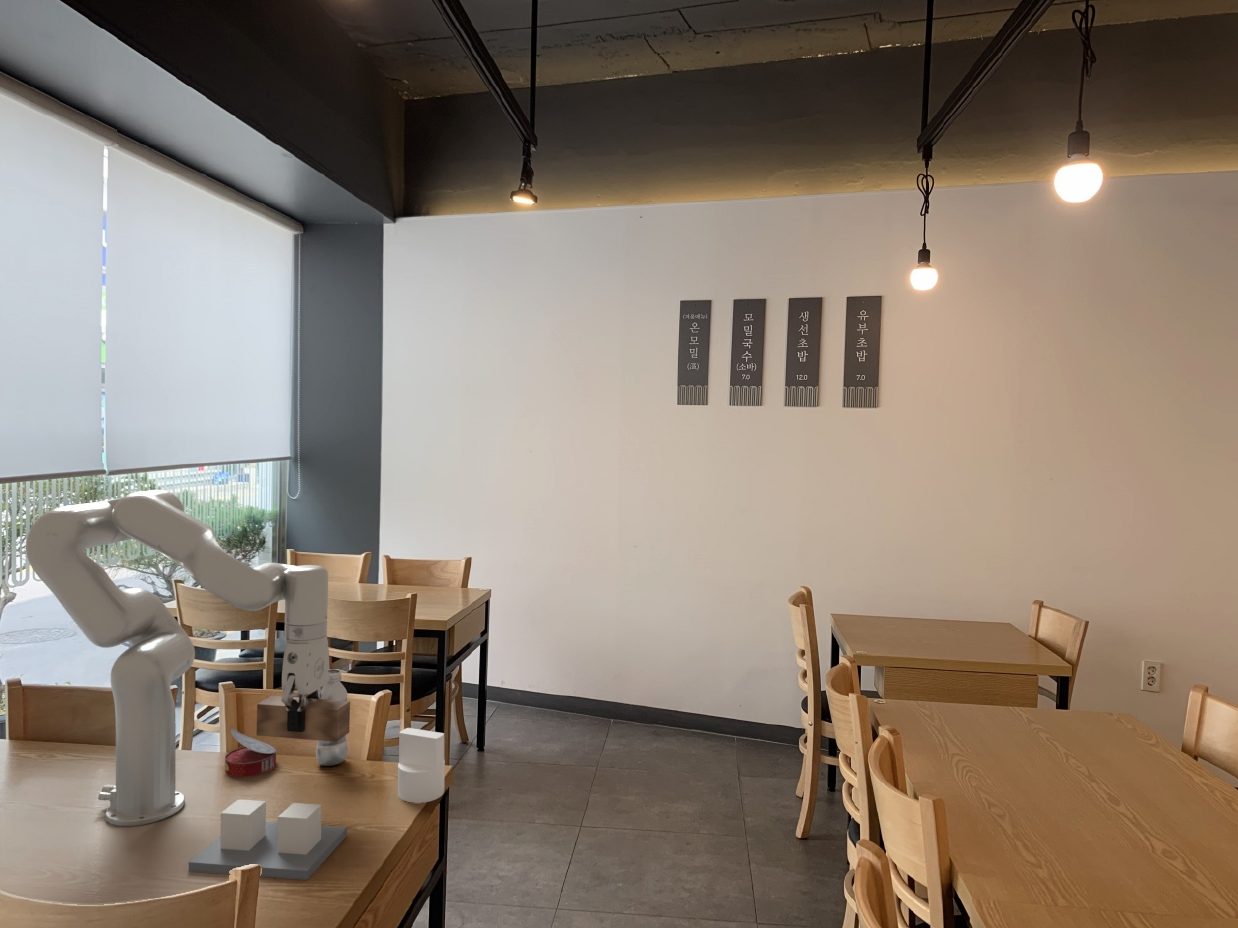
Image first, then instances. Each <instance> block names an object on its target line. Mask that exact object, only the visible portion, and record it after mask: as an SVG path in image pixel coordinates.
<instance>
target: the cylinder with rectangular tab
mask: <svg viewBox="0 0 1238 928" xmlns="http://www.w3.org/2000/svg"><path fill="white" fill-rule="evenodd" d="M398 733H399V735H398V736H399V738H398V741H399V743H398V745H399V746H398V764H397V797H398V796H399V797H400V798H401V799H403V800H406V801H409V802H415V803H414V804H422V802H423V803H428V802H432V801H435V800H437V799H439V798H440V797H442V796H443V795H444V793H445V771H446V770H445V768H446V767H445V766H446V765H445V733H443V732H437V731H433V730H432V731H431V730H426V729H425V730H424V729H419V728H413V727H407V728H404V729H402V730H401V731H399V732H398ZM399 797H398V798H399Z"/></svg>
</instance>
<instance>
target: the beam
mask: <svg viewBox="0 0 1238 928" xmlns="http://www.w3.org/2000/svg"><path fill="white" fill-rule="evenodd" d="M281 698H282V695H281V696H280V695H271V696H268V697H267V698H266V699H263V700H262V701H260V702H258V703H257V704H256V709H257V710H256V736H259V737H269V738H270V737H271V738H280V739H281V738H285V739H295V740H296V739H297V740H307V741H318V740H319V741H332V742H337V741H339V740H340V739H341V738H342V737H344V736H347V735H348V734H349V733H350V723H351V722H350V720H351V719H350V718H351V717H350V715H351V701H349V700H347V701H339V700H325V699H311V698H305V700H304V706H303V710H305V730H304V731H303V732H292V731H288V730H287V712H288V711H287V710H286V706H285V704H284V703H283V702H282V701H281ZM293 699H295V700H296V701H297V702H299V697H294V698H293Z"/></svg>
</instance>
